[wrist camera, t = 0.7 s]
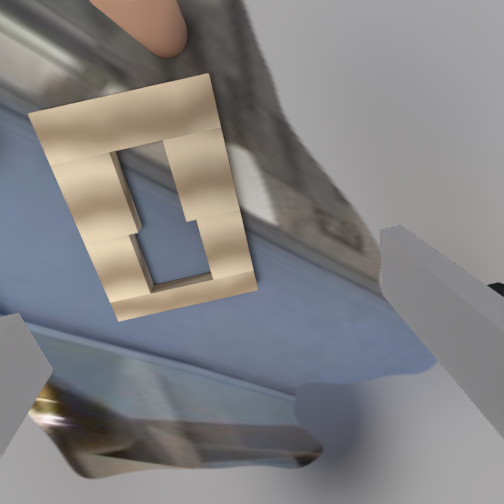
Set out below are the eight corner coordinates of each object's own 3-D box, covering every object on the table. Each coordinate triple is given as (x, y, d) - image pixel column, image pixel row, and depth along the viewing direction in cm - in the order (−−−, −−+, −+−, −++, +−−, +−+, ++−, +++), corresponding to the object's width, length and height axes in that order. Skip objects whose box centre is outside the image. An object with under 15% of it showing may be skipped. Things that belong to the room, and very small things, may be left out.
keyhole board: (38, 113, 31) (27, 113, 29) (209, 75, 31) (208, 73, 29) (123, 311, 40) (118, 321, 38) (256, 281, 40) (258, 290, 38)
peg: (134, 10, 29) (56, -79, 15) (180, -1, 29) (144, -99, 15) (149, 62, 30) (91, 25, 17) (192, 52, 30) (171, 7, 17)
